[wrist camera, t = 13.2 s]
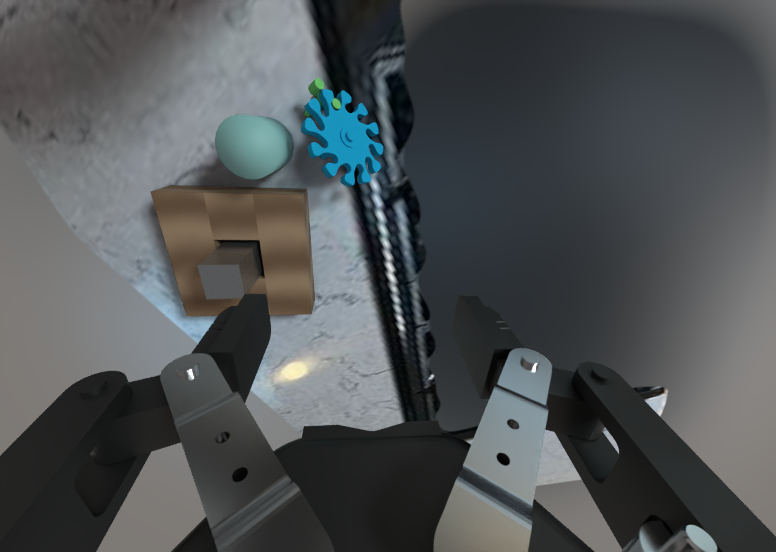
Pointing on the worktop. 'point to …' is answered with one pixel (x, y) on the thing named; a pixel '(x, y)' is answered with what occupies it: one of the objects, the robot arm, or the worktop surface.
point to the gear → (340, 135)
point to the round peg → (253, 145)
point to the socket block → (239, 222)
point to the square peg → (231, 269)
